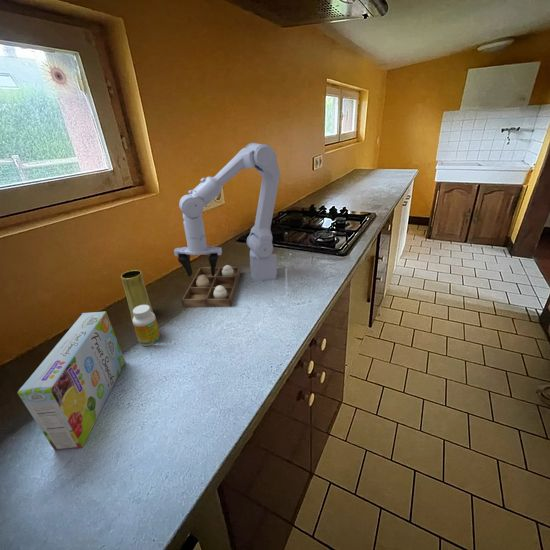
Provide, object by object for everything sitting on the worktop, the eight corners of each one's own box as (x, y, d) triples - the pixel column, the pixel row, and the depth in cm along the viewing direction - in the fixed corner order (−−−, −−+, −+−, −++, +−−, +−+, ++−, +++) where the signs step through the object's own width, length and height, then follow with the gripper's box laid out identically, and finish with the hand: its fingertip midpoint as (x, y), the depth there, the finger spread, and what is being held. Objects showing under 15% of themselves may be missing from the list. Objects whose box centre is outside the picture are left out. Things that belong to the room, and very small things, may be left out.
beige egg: (211, 285, 102) (209, 272, 100) (208, 291, 98) (206, 278, 96) (199, 285, 102) (196, 272, 100) (195, 291, 99) (193, 278, 96)
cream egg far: (235, 275, 108) (234, 262, 106) (233, 281, 104) (232, 268, 102) (223, 275, 108) (222, 262, 106) (221, 281, 105) (219, 268, 102)
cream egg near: (228, 296, 96) (227, 282, 93) (226, 303, 92) (224, 289, 90) (215, 296, 96) (213, 282, 93) (213, 303, 92) (210, 289, 90)
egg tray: (240, 275, 110) (240, 267, 108) (231, 308, 91) (230, 299, 89) (200, 275, 110) (199, 267, 109) (183, 309, 91) (181, 299, 90)
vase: (158, 313, 90) (147, 270, 83) (144, 325, 85) (131, 280, 78) (141, 309, 91) (130, 267, 85) (127, 321, 86) (113, 277, 80)
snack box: (102, 364, 71) (81, 311, 64) (126, 362, 72) (108, 309, 65) (51, 452, 53) (14, 391, 46) (84, 448, 53) (52, 388, 46)
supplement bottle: (153, 347, 76) (144, 316, 72) (134, 345, 77) (124, 314, 73) (164, 334, 81) (156, 303, 76) (146, 332, 82) (137, 302, 77)
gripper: (221, 230, 95) (226, 269, 101) (176, 231, 95) (183, 269, 102) (217, 238, 89) (222, 279, 95) (168, 239, 89) (177, 279, 96)
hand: (202, 274), depth 98 cm, fingers open, 7 cm apart
